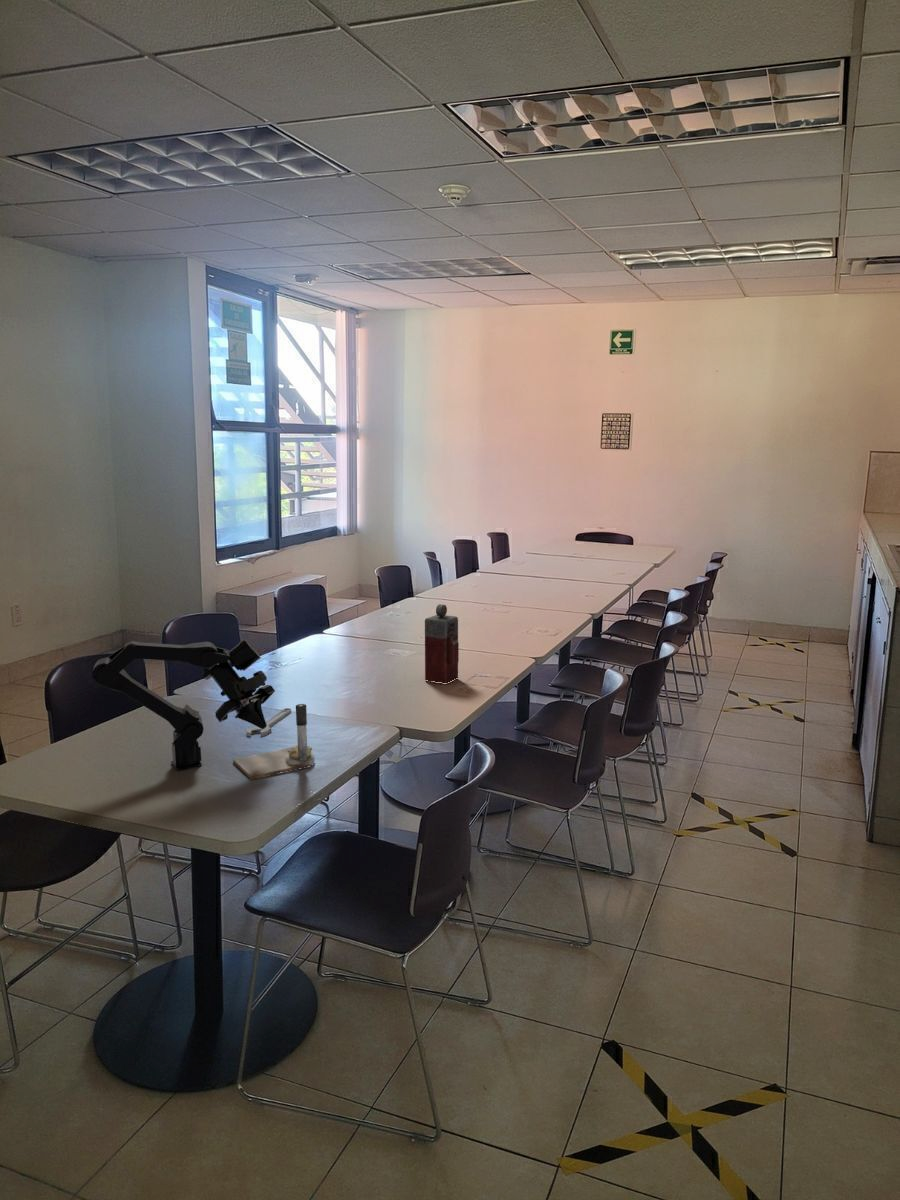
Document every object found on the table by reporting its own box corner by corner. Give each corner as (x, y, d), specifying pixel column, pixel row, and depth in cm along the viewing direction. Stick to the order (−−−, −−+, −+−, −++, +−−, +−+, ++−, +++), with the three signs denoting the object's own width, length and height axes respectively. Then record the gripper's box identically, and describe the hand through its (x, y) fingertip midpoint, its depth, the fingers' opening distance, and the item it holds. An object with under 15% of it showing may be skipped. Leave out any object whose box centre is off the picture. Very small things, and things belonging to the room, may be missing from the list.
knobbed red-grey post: (451, 685, 301) (451, 608, 296) (424, 681, 307) (424, 605, 302) (463, 679, 309) (464, 604, 304) (437, 675, 314) (437, 601, 309)
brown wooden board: (251, 779, 217) (250, 772, 217) (233, 762, 228) (232, 755, 228) (319, 765, 227) (319, 757, 227) (298, 749, 238) (298, 742, 238)
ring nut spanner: (286, 752, 230) (284, 696, 227) (310, 750, 231) (308, 694, 229) (291, 766, 220) (289, 708, 217) (315, 763, 222) (314, 705, 219)
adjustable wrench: (285, 712, 274) (284, 707, 273) (302, 714, 272) (302, 709, 271) (243, 736, 250) (243, 731, 250) (262, 739, 248) (262, 733, 248)
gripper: (222, 672, 214) (259, 720, 211) (268, 655, 231) (303, 700, 228) (199, 698, 219) (235, 745, 216) (246, 680, 235) (280, 724, 233)
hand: (264, 727), depth 223 cm, fingers closed
